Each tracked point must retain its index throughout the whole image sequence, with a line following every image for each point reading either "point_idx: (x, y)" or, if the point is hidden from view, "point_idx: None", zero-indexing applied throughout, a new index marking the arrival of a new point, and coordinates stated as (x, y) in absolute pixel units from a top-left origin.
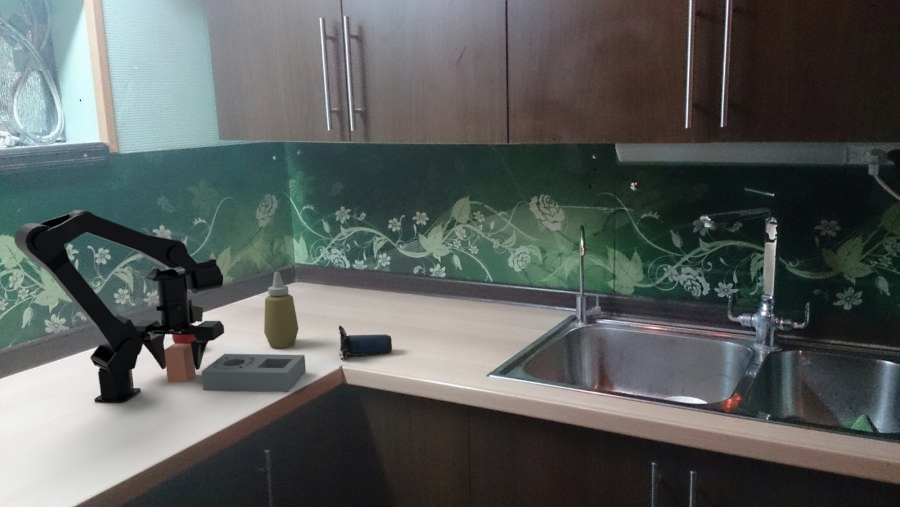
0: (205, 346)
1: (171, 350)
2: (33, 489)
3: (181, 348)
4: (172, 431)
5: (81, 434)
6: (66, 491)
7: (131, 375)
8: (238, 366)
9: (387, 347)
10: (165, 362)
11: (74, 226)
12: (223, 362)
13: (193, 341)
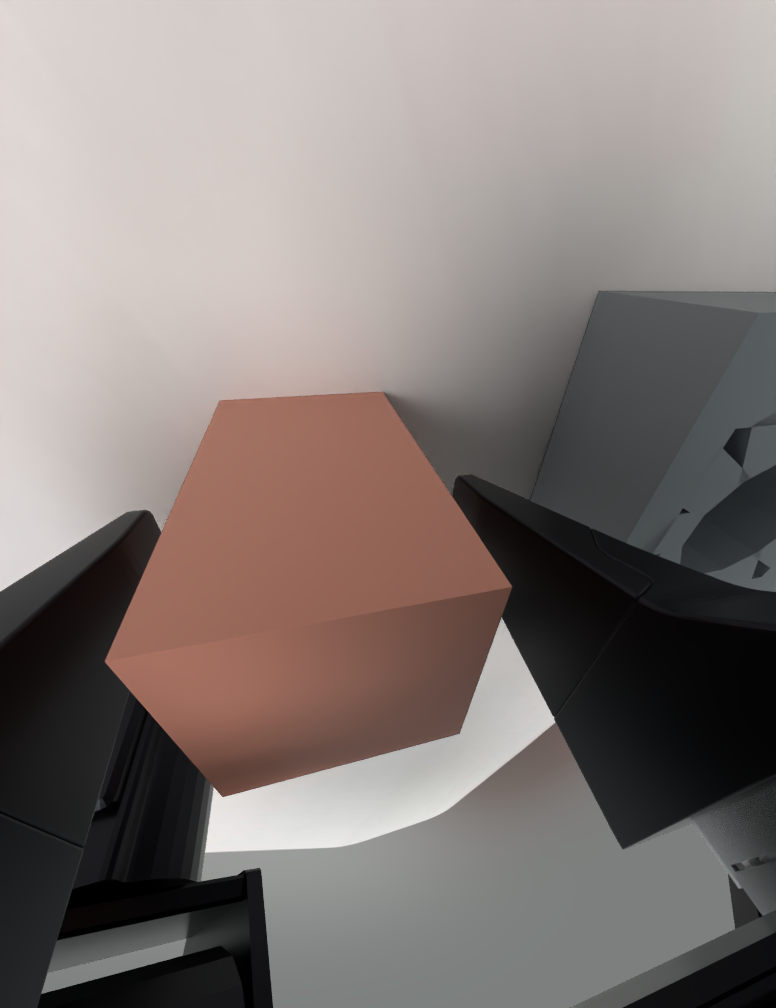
0: (682, 581)
1: (319, 762)
2: (362, 835)
3: (419, 722)
4: (491, 730)
5: (294, 796)
6: (409, 821)
7: (148, 758)
8: (752, 566)
9: None
10: (129, 541)
11: None
12: (689, 534)
13: (656, 836)
